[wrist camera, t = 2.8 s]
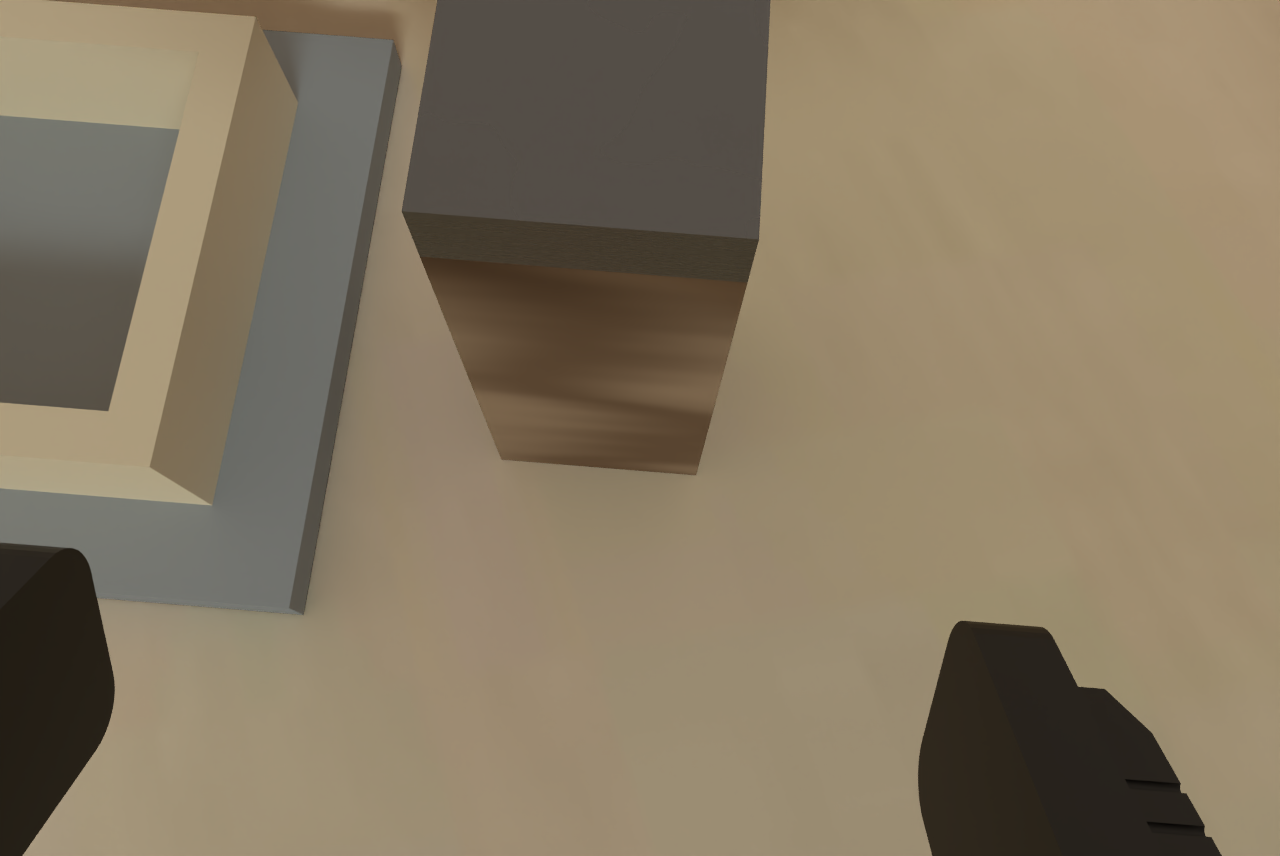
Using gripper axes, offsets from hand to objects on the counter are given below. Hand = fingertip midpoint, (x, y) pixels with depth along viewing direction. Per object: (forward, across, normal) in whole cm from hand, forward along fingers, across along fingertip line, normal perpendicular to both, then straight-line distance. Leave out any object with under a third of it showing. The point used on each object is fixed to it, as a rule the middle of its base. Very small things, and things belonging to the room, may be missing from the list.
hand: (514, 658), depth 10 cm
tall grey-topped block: (+14, 0, +3) cm, 15 cm away
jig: (+15, +13, +3) cm, 20 cm away
